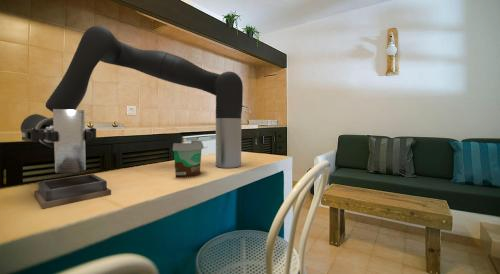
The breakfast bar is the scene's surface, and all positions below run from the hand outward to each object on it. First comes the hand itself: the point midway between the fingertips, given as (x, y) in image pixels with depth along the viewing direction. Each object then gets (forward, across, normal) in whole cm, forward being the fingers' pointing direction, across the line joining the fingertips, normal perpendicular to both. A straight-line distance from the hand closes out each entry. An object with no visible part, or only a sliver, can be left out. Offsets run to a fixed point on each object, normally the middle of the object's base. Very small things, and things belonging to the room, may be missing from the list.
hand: (71, 135), depth 48 cm
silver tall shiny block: (-2, 0, +8) cm, 8 cm away
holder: (-1, 0, +13) cm, 13 cm away
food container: (+1, +29, +13) cm, 32 cm away
